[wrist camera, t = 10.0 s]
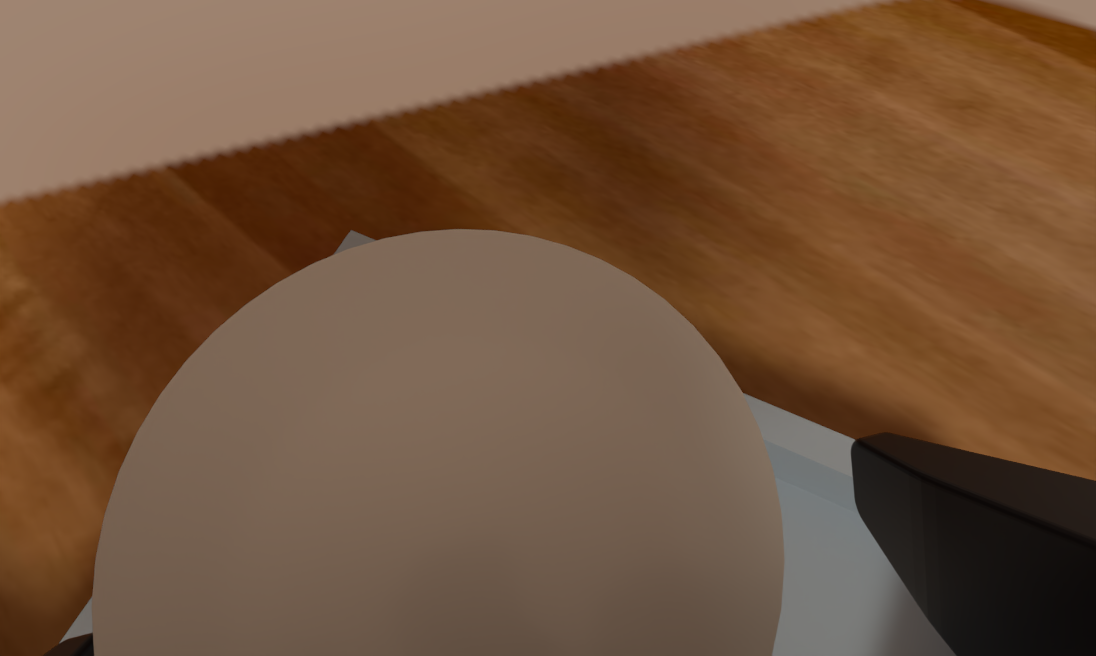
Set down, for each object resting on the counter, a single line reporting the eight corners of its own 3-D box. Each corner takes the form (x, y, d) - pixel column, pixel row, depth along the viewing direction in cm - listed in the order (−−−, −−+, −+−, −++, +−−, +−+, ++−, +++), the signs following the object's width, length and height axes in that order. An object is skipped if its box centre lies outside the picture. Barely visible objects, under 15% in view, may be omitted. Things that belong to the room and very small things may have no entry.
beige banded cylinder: (679, 674, 16) (937, 581, 4) (524, 810, 15) (300, 1177, 3) (562, 520, 17) (513, 138, 6) (415, 634, 16) (-4, 455, 5)
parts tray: (1013, 554, 17) (1078, 532, 15) (842, 1306, 12) (899, 1443, 10) (376, 280, 21) (351, 229, 19) (53, 762, 16) (-33, 772, 14)
